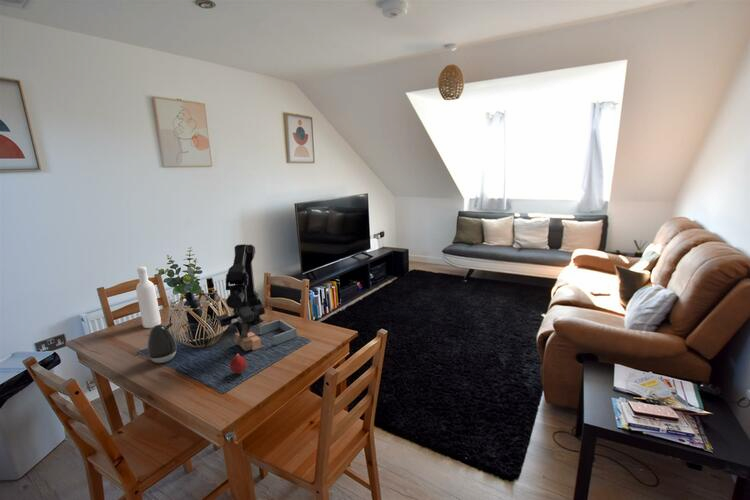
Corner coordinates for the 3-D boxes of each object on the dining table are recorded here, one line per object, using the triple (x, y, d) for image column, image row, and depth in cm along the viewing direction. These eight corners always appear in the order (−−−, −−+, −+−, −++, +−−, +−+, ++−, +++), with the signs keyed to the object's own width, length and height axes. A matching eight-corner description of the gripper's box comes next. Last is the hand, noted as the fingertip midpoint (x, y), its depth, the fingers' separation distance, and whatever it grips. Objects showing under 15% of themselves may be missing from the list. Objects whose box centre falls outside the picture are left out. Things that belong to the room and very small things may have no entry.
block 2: (248, 347, 153) (247, 338, 152) (257, 343, 155) (256, 335, 154) (252, 350, 150) (251, 342, 149) (261, 347, 153) (260, 338, 152)
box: (260, 333, 165) (259, 326, 164) (280, 326, 171) (280, 319, 171) (275, 345, 154) (274, 336, 153) (296, 337, 161) (296, 328, 160)
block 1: (243, 343, 157) (242, 334, 156) (252, 339, 159) (251, 331, 158) (247, 346, 154) (246, 337, 153) (256, 343, 156) (255, 334, 155)
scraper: (235, 341, 155) (234, 320, 153) (241, 340, 157) (241, 318, 155) (245, 351, 147) (245, 328, 145) (252, 349, 149) (252, 326, 147)
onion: (237, 379, 130) (235, 359, 128) (227, 375, 133) (225, 355, 131) (250, 371, 134) (248, 352, 133) (241, 367, 137) (238, 348, 136)
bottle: (139, 328, 174) (127, 269, 167) (149, 321, 181) (138, 265, 174) (155, 328, 174) (144, 269, 167) (164, 321, 181) (154, 264, 174)
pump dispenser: (183, 358, 145) (177, 324, 142) (155, 369, 138) (148, 333, 134) (173, 350, 152) (167, 317, 148) (145, 360, 144) (138, 326, 141)
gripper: (223, 311, 136) (228, 348, 139) (269, 298, 148) (272, 332, 151) (213, 303, 144) (218, 338, 147) (257, 291, 156) (261, 324, 159)
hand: (243, 333), depth 151 cm, fingers closed on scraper, 3 cm apart
